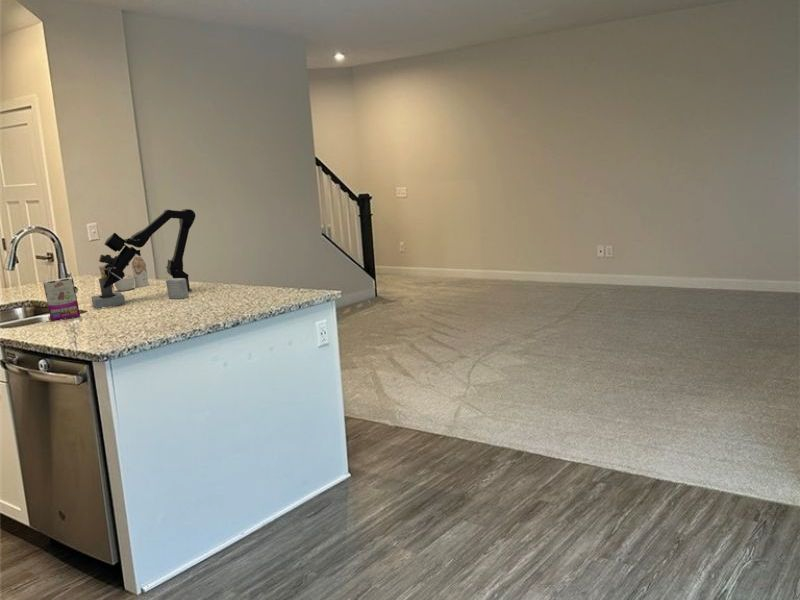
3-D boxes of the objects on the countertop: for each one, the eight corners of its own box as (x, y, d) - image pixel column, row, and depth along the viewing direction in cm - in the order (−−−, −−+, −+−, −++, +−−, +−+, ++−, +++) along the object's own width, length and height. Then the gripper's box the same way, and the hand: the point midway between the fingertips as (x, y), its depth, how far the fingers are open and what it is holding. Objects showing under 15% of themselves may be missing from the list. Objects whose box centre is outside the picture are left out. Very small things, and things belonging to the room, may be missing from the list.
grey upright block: (116, 304, 309) (111, 274, 306) (106, 306, 306) (101, 276, 303) (111, 303, 312) (106, 273, 309) (101, 305, 309) (96, 275, 306)
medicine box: (189, 297, 311) (186, 278, 309) (182, 299, 307) (179, 280, 305) (175, 296, 314) (172, 278, 313) (168, 299, 310) (165, 280, 309)
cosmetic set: (109, 295, 334) (102, 257, 331) (98, 294, 340) (91, 257, 336) (153, 285, 354) (147, 249, 351) (142, 284, 360) (136, 249, 356)
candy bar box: (79, 314, 291) (72, 276, 288) (80, 316, 287) (73, 277, 284) (50, 319, 286) (42, 280, 283) (50, 321, 282) (43, 282, 279)
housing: (120, 300, 317) (119, 292, 316) (125, 304, 307) (123, 295, 306) (92, 305, 311) (91, 296, 310) (96, 309, 301) (94, 300, 300)
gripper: (105, 246, 314) (83, 273, 311) (112, 248, 298) (89, 278, 295) (126, 260, 319) (105, 288, 316) (134, 264, 303) (111, 293, 300)
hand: (102, 286), depth 307 cm, fingers open, 9 cm apart
